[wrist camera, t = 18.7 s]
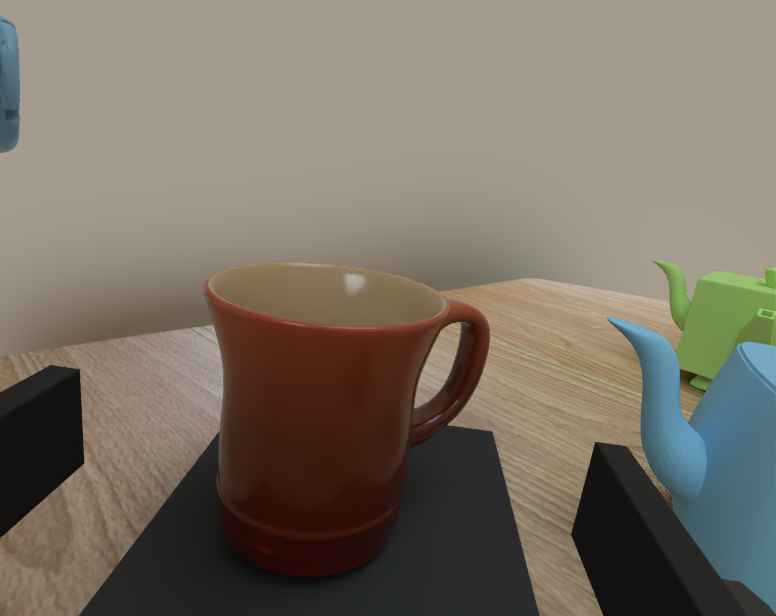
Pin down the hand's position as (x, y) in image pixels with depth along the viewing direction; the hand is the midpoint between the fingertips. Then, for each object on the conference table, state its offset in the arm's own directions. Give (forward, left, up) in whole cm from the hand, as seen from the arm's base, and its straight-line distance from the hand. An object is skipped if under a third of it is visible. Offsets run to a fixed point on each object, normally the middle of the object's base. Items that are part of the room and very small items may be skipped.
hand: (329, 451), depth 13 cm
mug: (0, +8, -9) cm, 12 cm away
